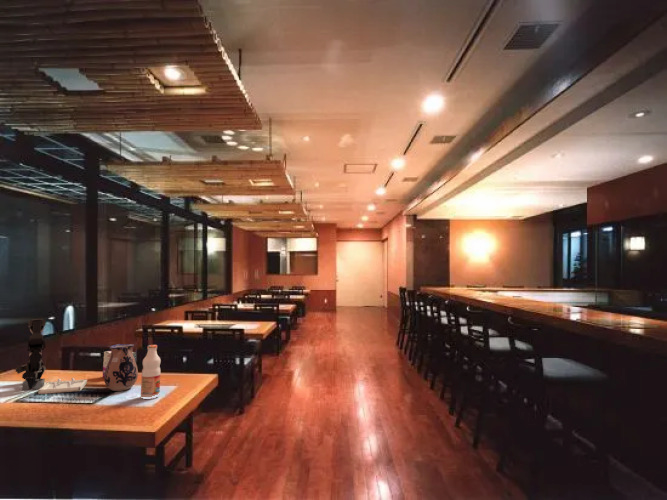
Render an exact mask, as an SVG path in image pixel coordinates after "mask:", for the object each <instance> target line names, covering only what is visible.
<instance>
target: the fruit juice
mask: <svg viewBox="0 0 667 500" xmlns="http://www.w3.org/2000/svg"><path fill="white" fill-rule="evenodd" d="M146 347H147V353H146V354H145V357H144V358H143V359H142V370H141V379H140V380H141V382H140V384H141V385H140V398H141V397H152V396H155V395H158V394H159V393H160V391H161V390H160V389H161V367H160V365H161V362H162V360H161V357H160V356H159V355H158V352H157V350H158V345H157V344H149V345H147V346H146ZM159 395H160V394H159Z"/></svg>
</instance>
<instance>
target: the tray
mask: <svg viewBox="0 0 667 500" xmlns="http://www.w3.org/2000/svg"><path fill="white" fill-rule="evenodd" d="M61 380H62V379H61V378H57V381H47V383H44V386H43V387H42V388H40V389H37V391H38V393H37V394H38V395H44V394H45V395H46V394H57V393H59V394H60V393H69V392H71V393H72V392H80V391H82V389H83V388H85V386H86V384H87V383H88V379H75V377H71V380H62V381H61Z"/></svg>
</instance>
